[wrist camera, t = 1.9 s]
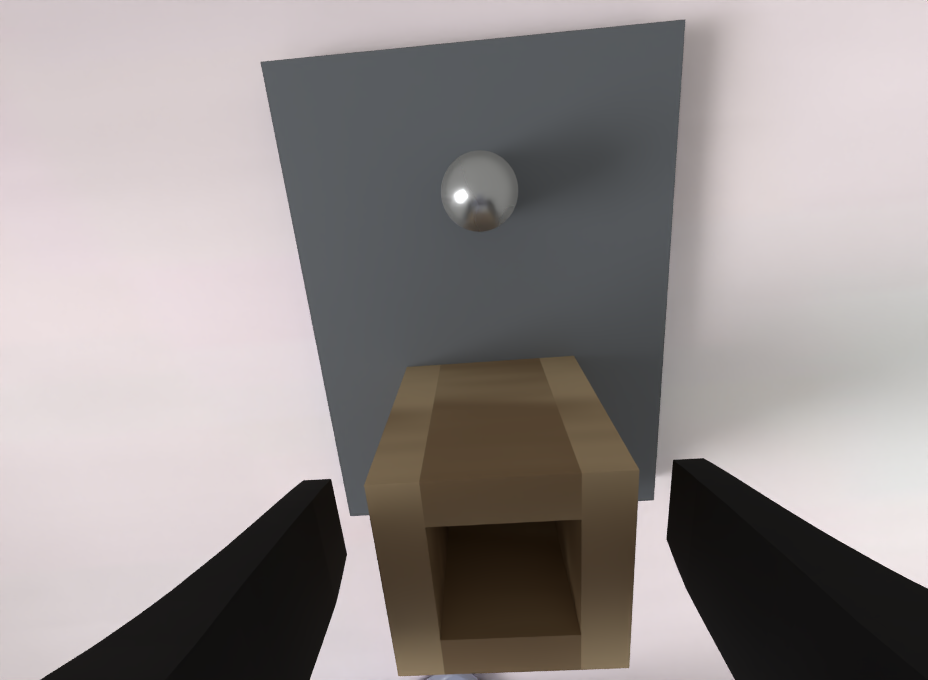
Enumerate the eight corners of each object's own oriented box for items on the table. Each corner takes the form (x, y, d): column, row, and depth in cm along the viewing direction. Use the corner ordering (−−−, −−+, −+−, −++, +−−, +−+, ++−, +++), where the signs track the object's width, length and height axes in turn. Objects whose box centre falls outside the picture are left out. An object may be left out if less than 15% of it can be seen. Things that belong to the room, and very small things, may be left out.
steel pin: (520, 194, 11) (534, 198, 8) (473, 233, 11) (473, 247, 9) (483, 144, 10) (486, 132, 8) (436, 185, 11) (425, 185, 8)
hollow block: (574, 496, 13) (629, 668, 9) (424, 503, 14) (398, 676, 9) (573, 355, 12) (639, 469, 7) (407, 367, 12) (363, 485, 7)
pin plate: (642, 479, 14) (653, 500, 13) (358, 494, 15) (350, 515, 14) (666, 34, 10) (685, 19, 9) (278, 72, 11) (260, 61, 10)
